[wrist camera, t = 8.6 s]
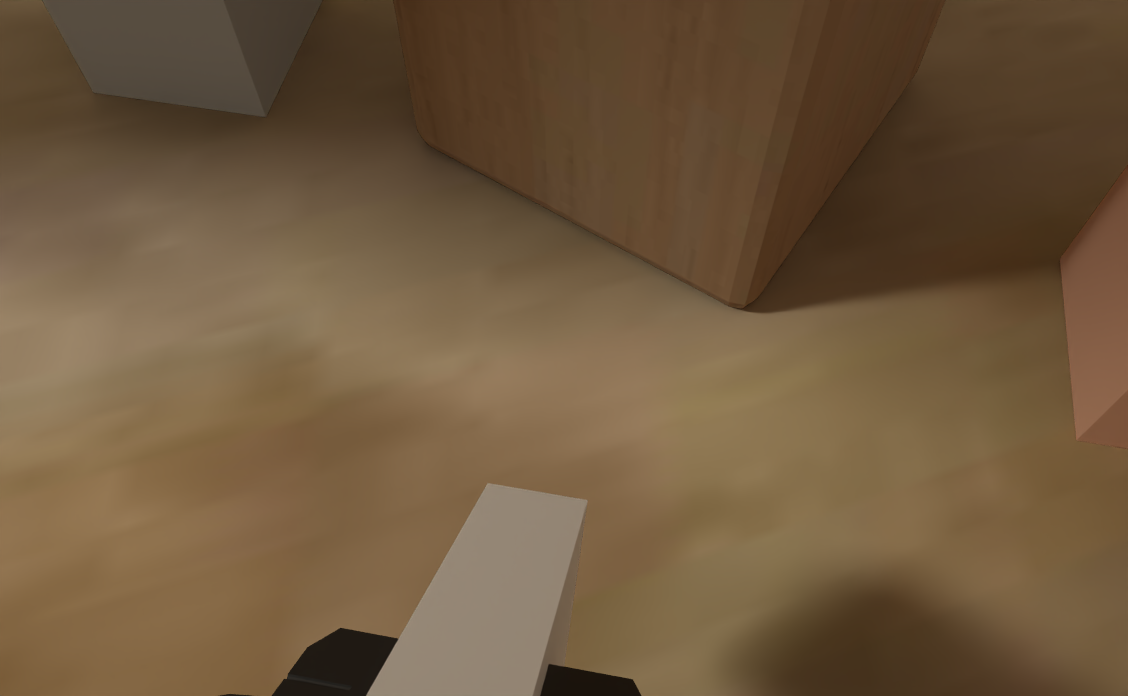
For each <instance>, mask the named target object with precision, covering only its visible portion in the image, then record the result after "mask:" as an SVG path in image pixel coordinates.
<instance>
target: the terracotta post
mask: <svg viewBox="0 0 1128 696" xmlns="http://www.w3.org/2000/svg"><path fill="white" fill-rule="evenodd" d="M1060 267H1061V278H1062V289H1063V300H1064V311H1065V321H1066V332H1067V343H1068V354H1069V365H1070V376H1071V387H1072V398H1073V409H1074V420H1075V430H1076V441H1083V442H1089V443H1095V444H1101V445H1107V446H1113V447H1119V448H1125V449H1128V165H1127V167H1126V168H1125V169H1124V171H1123V172H1122V173H1121V175H1120V176H1119V178H1118V179H1117V180H1116V182H1115V183H1114V185H1113V186H1112V187H1111V189H1110V190H1109V191H1108V193H1107V194H1106V196H1105V197H1104V198H1103V200H1102V201H1101V203H1100V204H1099V205H1098V207H1097V208H1096V209H1095V211H1094V212H1093V214H1092V215H1091V216H1090V218H1089V219H1088V221H1087V222H1086V223H1085V225H1084V226H1083V227H1082V229H1081V230H1080V232H1079V233H1078V234H1077V236H1076V237H1075V239H1074V240H1073V241H1072V243H1071V244H1070V245H1069V247H1068V248H1067V250H1066V251H1065V252H1064V254H1063V255H1062V257H1061V258H1060Z"/></svg>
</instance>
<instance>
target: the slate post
mask: <svg viewBox="0 0 1128 696" xmlns="http://www.w3.org/2000/svg"><path fill="white" fill-rule="evenodd" d="M42 1H43V3H44V5H45V6H46V8H47V10H48V12H49V14H50V15H51V17H52V19H53V21H54V23H55V24H56V26H57V28H58V30H59V32H60V33H61V35H62V37H63V39H64V41H65V42H66V44H67V46H68V48H69V50H70V51H71V53H72V55H73V57H74V59H75V61H76V62H77V64H78V66H79V68H80V70H81V71H82V73H83V75H84V77H85V79H86V80H87V82H88V84H89V86H90V88H91V89H92V91H93V93H100V94H107V95H114V96H121V97H127V98H134V99H141V100H148V101H155V102H162V103H169V104H176V105H183V106H190V107H197V108H204V109H211V110H218V111H225V112H232V113H239V114H246V115H253V116H260V117H266V116H267V114H268V112H269V110H270V108H271V106H272V104H273V102H274V100H275V98H276V95H277V93H278V91H279V89H280V87H281V85H282V83H283V81H284V79H285V77H286V75H287V73H288V71H289V69H290V67H291V64H292V62H293V60H294V58H295V56H296V54H297V52H298V50H299V48H300V46H301V44H302V42H303V40H304V38H305V35H306V33H307V31H308V29H309V27H310V25H311V23H312V21H313V19H314V17H315V15H316V13H317V11H318V9H319V7H320V4H321V2H322V0H42Z"/></svg>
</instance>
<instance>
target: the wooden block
mask: <svg viewBox="0 0 1128 696" xmlns="http://www.w3.org/2000/svg"><path fill="white" fill-rule="evenodd" d="M393 1H394V7H395V12H396V18H397V23H398V29H399V34H400V40H401V45H402V50H403V56H404V61H405V67H406V72H407V78H408V83H409V89H410V94H411V99H412V105H413V110H414V116H415V121H416V127H417V131H418V132H419V134H420V135H421V137H422V138H423V139H424V140H425V141H426V143H427V144H428V145H429V146H431V147H433V148H435V149H437V150H438V151H440V152H442V153H444V154H446V155H448V156H450V157H451V158H453V159H455V160H457V161H459V162H461V163H463V164H465V165H466V166H468V167H470V168H472V169H474V170H476V171H478V172H479V173H481V174H483V175H485V176H487V177H489V178H491V179H493V180H494V181H496V182H498V183H500V184H502V185H504V186H506V187H507V188H509V189H511V190H513V191H515V192H517V193H519V194H521V195H522V196H524V197H526V198H528V199H530V200H532V201H534V202H535V203H537V204H539V205H541V206H543V207H545V208H547V209H549V210H550V211H552V212H554V213H556V214H558V215H560V216H562V217H564V218H565V219H567V220H569V221H571V222H573V223H575V224H577V225H578V226H580V227H582V228H584V229H586V230H588V231H590V232H592V233H593V234H595V235H597V236H599V237H601V238H603V239H605V240H606V241H608V242H610V243H612V244H614V245H616V246H618V247H620V248H621V249H623V250H625V251H627V252H629V253H631V254H633V255H634V256H636V257H638V258H640V259H642V260H644V261H646V262H648V263H649V264H651V265H653V266H655V267H657V268H659V269H661V270H662V271H664V272H666V273H668V274H670V275H672V276H674V277H676V278H677V279H679V280H681V281H683V282H685V283H687V284H689V285H690V286H692V287H694V288H696V289H698V290H700V291H702V292H704V293H705V294H707V295H709V296H711V297H713V298H715V299H717V300H718V301H720V302H722V303H724V304H726V305H728V306H730V307H736V308H741V309H742V308H744V307H745V306H746V305H748V304H749V303H751V302H752V301H754V300H755V299H756V298H758V297H759V295H760V294H761V292H762V291H763V290H764V288H765V287H766V285H767V284H768V282H769V281H770V280H771V278H772V277H773V275H774V274H775V273H776V271H777V270H778V268H779V267H780V265H781V264H782V263H783V261H784V260H785V258H786V257H787V256H788V254H789V253H790V251H791V250H792V248H793V247H794V246H795V244H796V243H797V241H798V240H799V238H800V237H801V236H802V234H803V233H804V231H805V230H806V229H807V227H808V226H809V224H810V223H811V221H812V220H813V219H814V217H815V216H816V214H817V213H818V212H819V210H820V209H821V207H822V206H823V204H824V203H825V202H826V200H827V199H828V197H829V196H830V194H831V193H832V192H833V190H834V189H835V187H836V186H837V185H838V183H839V182H840V180H841V179H842V177H843V176H844V175H845V173H846V172H847V170H848V169H849V167H850V166H851V165H852V163H853V162H854V160H855V159H856V158H857V156H858V155H859V153H860V152H861V150H862V149H863V148H864V146H865V145H866V143H867V142H868V141H869V139H870V138H871V136H872V135H873V133H874V132H875V131H876V129H877V128H878V126H879V125H880V123H881V122H882V121H883V119H884V118H885V116H886V115H887V114H888V112H889V111H890V109H891V108H892V106H893V105H894V104H895V102H896V101H897V99H898V98H899V97H900V95H901V94H902V92H903V91H904V89H905V88H906V87H907V85H908V84H909V82H910V81H911V79H912V78H913V77H914V75H915V74H916V72H917V70H918V68H919V65H920V63H921V60H922V58H923V55H924V53H925V50H926V48H927V45H928V43H929V40H930V38H931V35H932V33H933V30H934V28H935V25H936V23H937V21H938V18H939V16H940V13H941V11H942V8H943V6H944V3H945V1H946V0H393Z"/></svg>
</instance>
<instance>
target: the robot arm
mask: <svg viewBox="0 0 1128 696" xmlns="http://www.w3.org/2000/svg"><path fill="white" fill-rule="evenodd" d="M587 502H588V500H584V499H578V498H572V497H566V496H560V495H554V494H549V493H543V492H537V491H531V490H525V489H519V488H513V487H507V486H502V485H496V484H490V483H488V484H487V485H486V487H485V489H484V491H483V492H482V494H481V496H480V498H479V499H478V501H477V503H476V505H475V506H474V508H473V510H472V512H471V513H470V515H469V517H468V519H467V520H466V522H465V524H464V526H463V527H462V529H461V531H460V533H459V534H458V536H457V538H456V540H455V541H454V543H453V545H452V547H451V548H450V550H449V552H448V554H447V555H446V557H445V559H444V561H443V562H442V564H441V566H440V568H439V569H438V571H437V573H436V575H435V576H434V578H433V580H432V581H431V583H430V585H429V587H428V588H427V590H426V592H425V594H424V595H423V597H422V599H421V601H420V602H419V604H418V606H417V608H416V609H415V611H414V613H413V615H412V616H411V618H410V620H409V622H408V623H407V625H406V627H405V629H404V630H403V632H402V634H401V636H400V637H399V639H397V638H392V637H386V636H381V635H376V634H370V633H365V632H360V631H354V630H349V629H344V628H340V629H338V630H336V631H335V632H333V633H331V634H329V635H328V636H326V637H324V638H323V639H321V640H319V641H317V642H316V643H314V644H312V645H311V646H309V647H307V649H306V650H305V651H304V653H303V654H302V655H301V657H300V658H299V660H298V661H297V662H296V664H295V665H294V666H293V668H292V669H291V670H290V672H289V673H288V677H287V679H284V680H283V681H282V683H281V684H280V685H279V687H278V688H277V689H276V691H275V692H274V693H273V695H272V696H641V694H640V692H639V690H638V688H637V687H636V685H635V683H634V681H633V679H627V678H622V677H617V676H611V675H606V674H601V673H595V672H590V671H585V670H579V669H574V668H569V667H564V663H565V656H566V649H567V642H568V635H569V628H570V621H571V614H572V607H573V600H574V593H575V586H576V579H577V572H578V565H579V558H580V551H581V544H582V537H583V530H584V523H585V516H586V509H587ZM220 696H250V695H236V694H227V695H220Z"/></svg>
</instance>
